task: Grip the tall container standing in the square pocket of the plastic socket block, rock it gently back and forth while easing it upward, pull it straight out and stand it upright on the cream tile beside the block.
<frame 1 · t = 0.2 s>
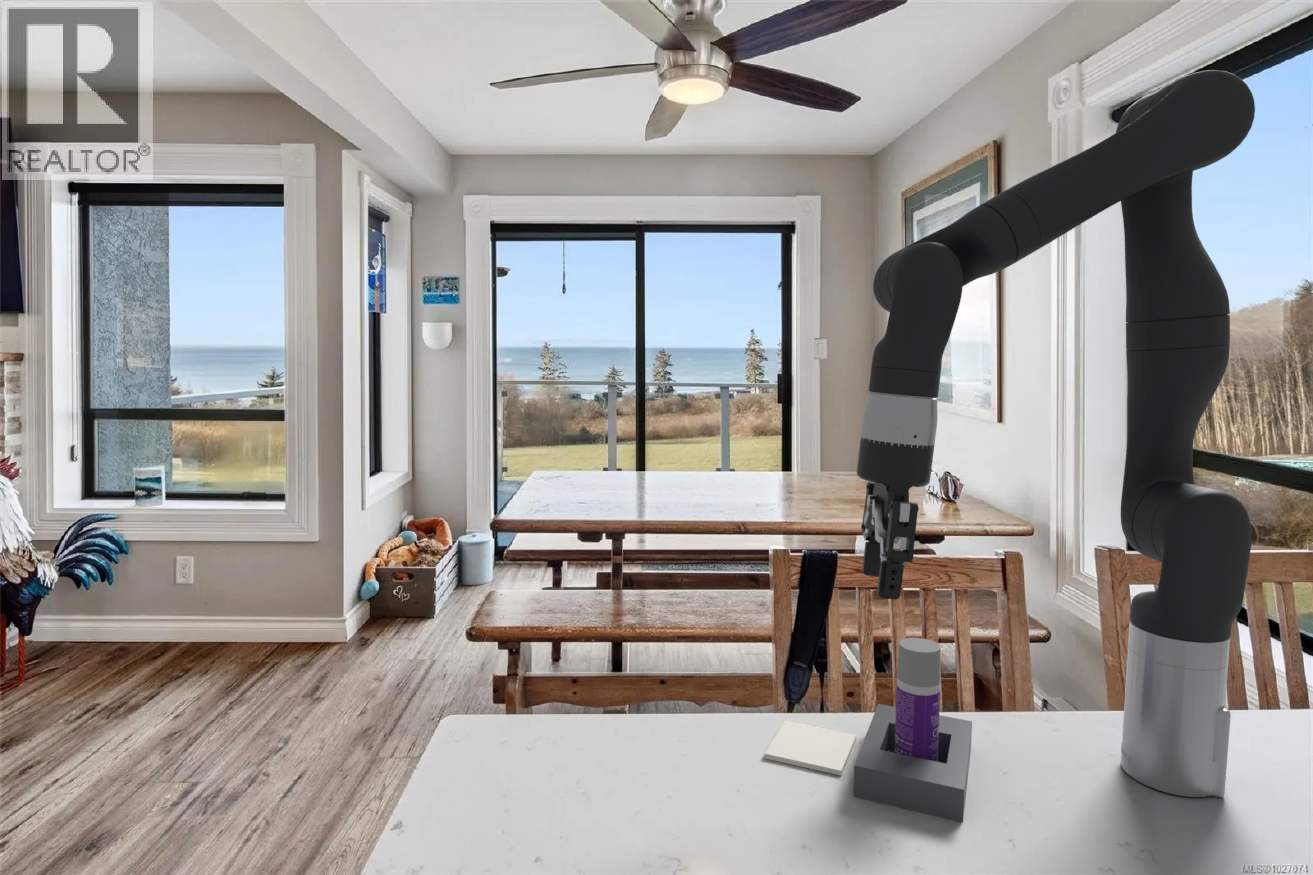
hand: (879, 585, 82), 23 cm above the kitchen island, tool pointing down, fingers open, 8 cm apart
tile: (811, 748, 92), on the kitchen island
socket block: (915, 771, 87), on the kitchen island
container: (915, 773, 87), resting in socket block
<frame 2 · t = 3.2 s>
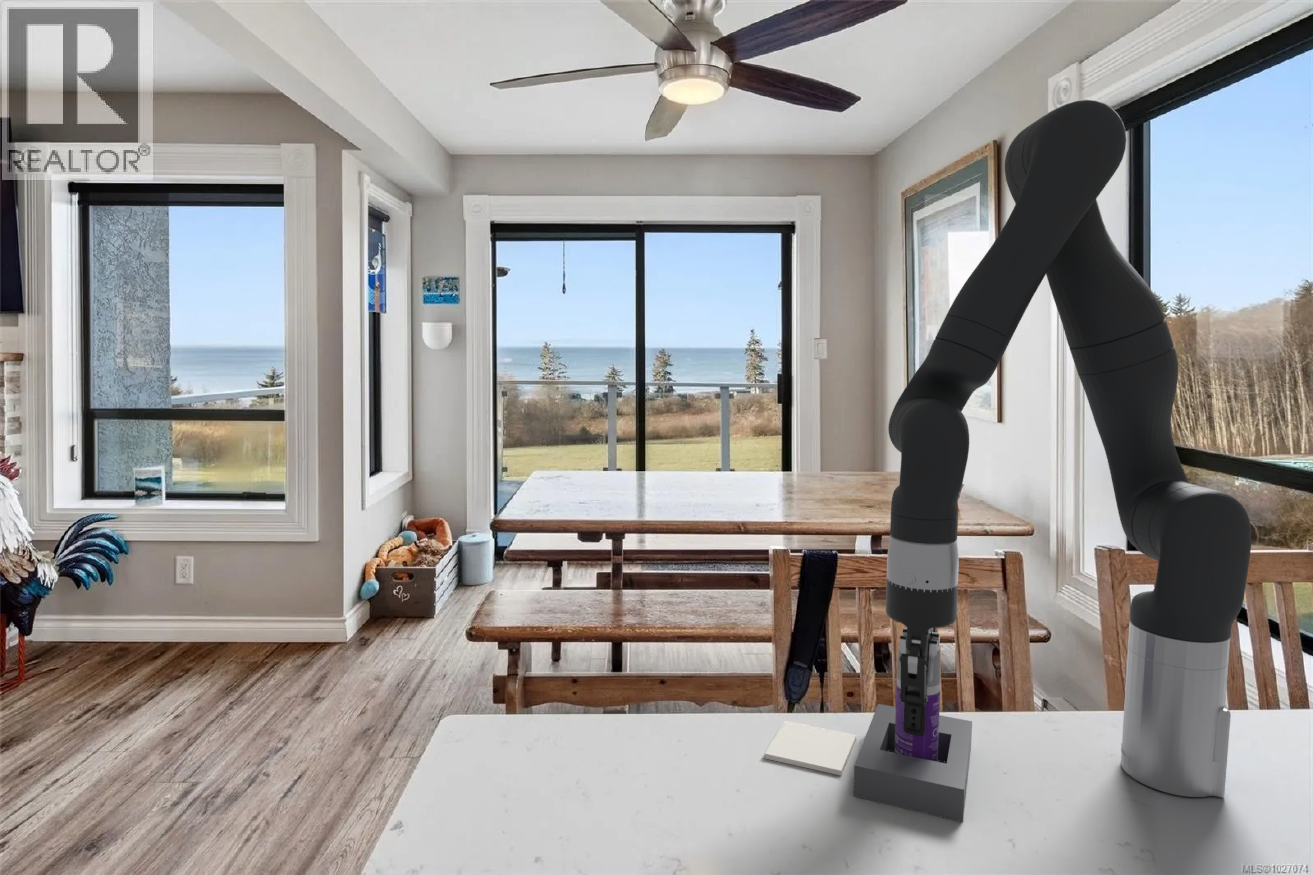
hand: (917, 722, 86), 6 cm above the kitchen island, tool pointing down, fingers closed on container, 4 cm apart
container: (915, 772, 87), resting in socket block, touching gripper
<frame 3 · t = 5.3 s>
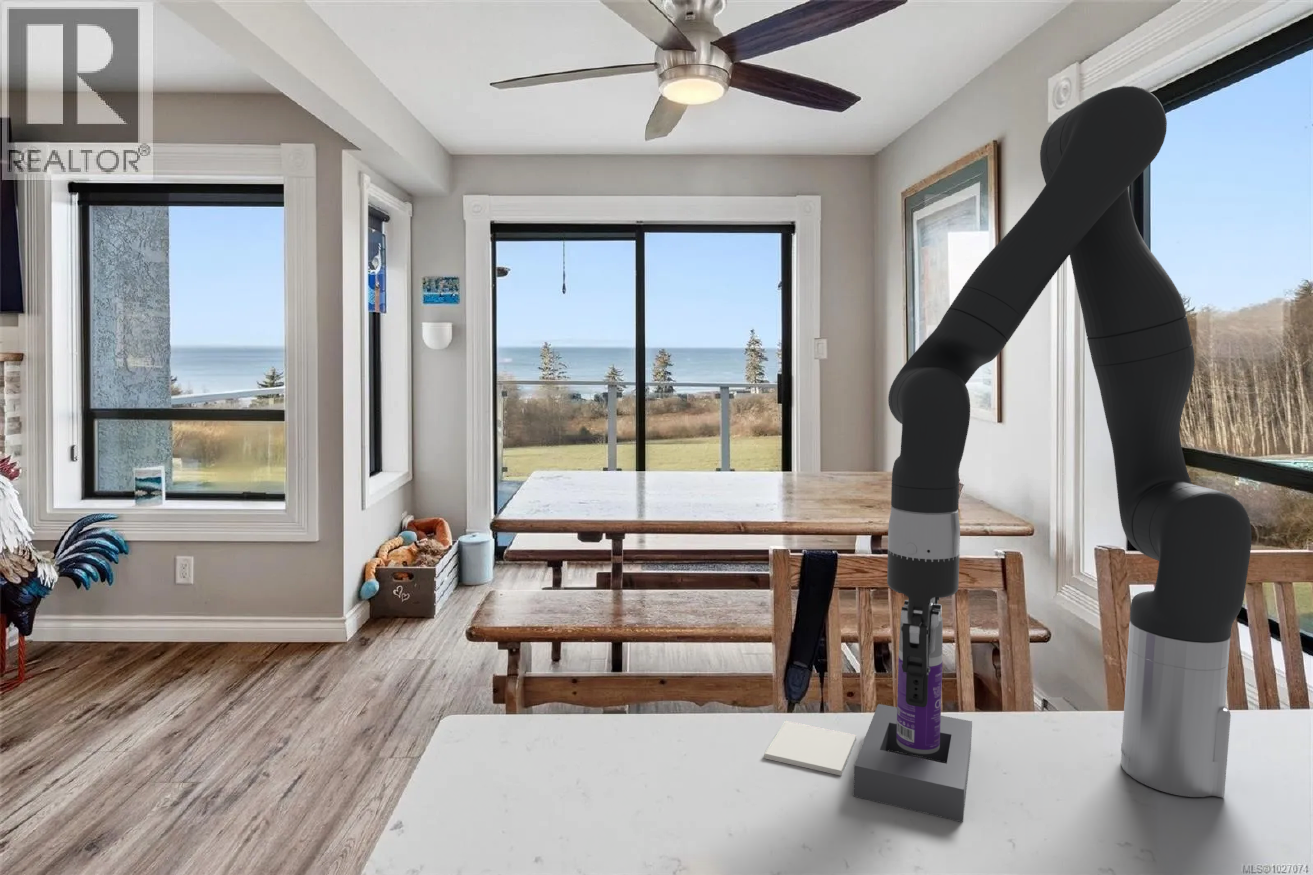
hand: (919, 694, 86), 9 cm above the kitchen island, tool pointing down, fingers closed on container, 4 cm apart
container: (917, 745, 87), point 3 cm above the kitchen island, touching gripper
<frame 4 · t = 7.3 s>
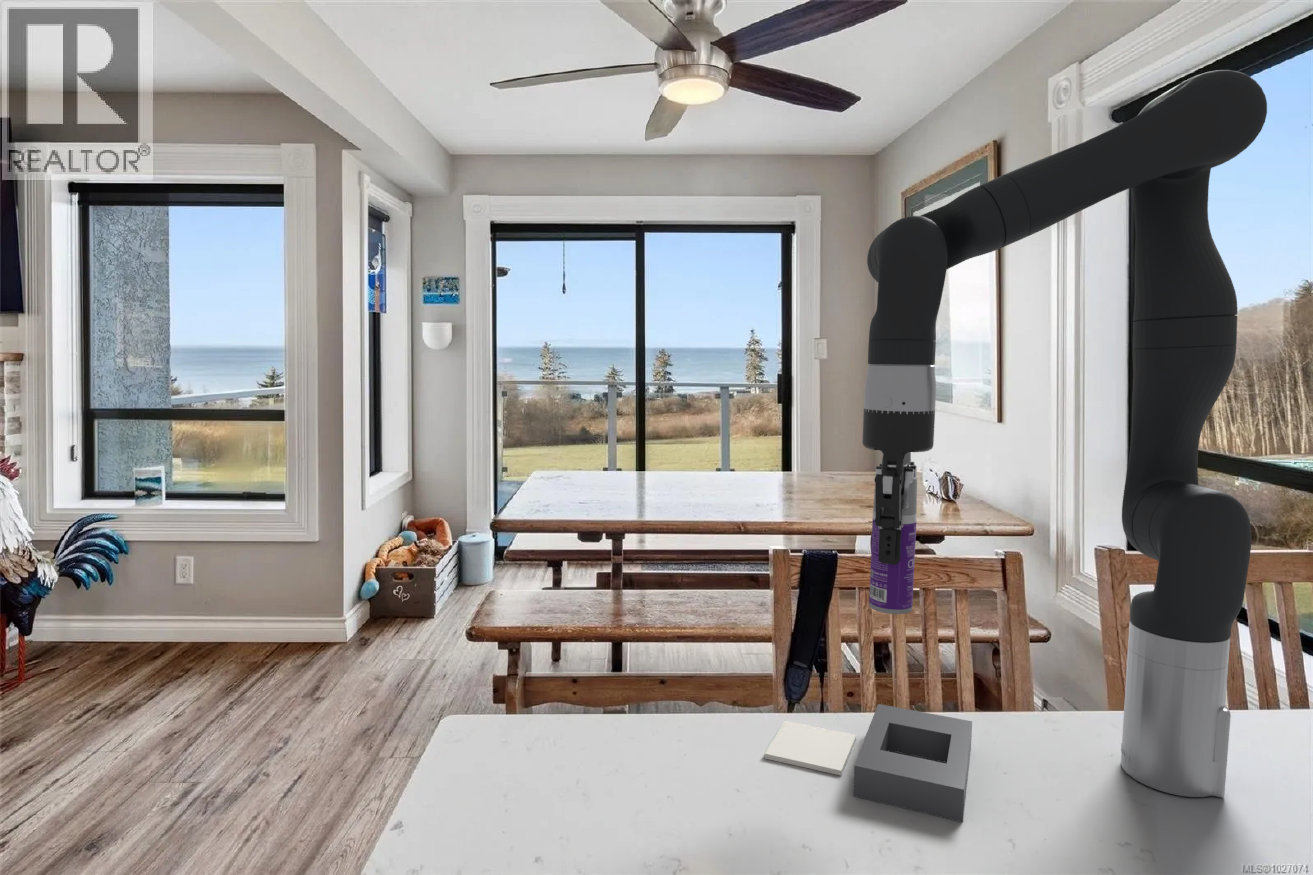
hand: (892, 556, 85), 25 cm above the kitchen island, tool pointing down, fingers closed on container, 4 cm apart
container: (890, 609, 86), point 19 cm above the kitchen island, touching gripper
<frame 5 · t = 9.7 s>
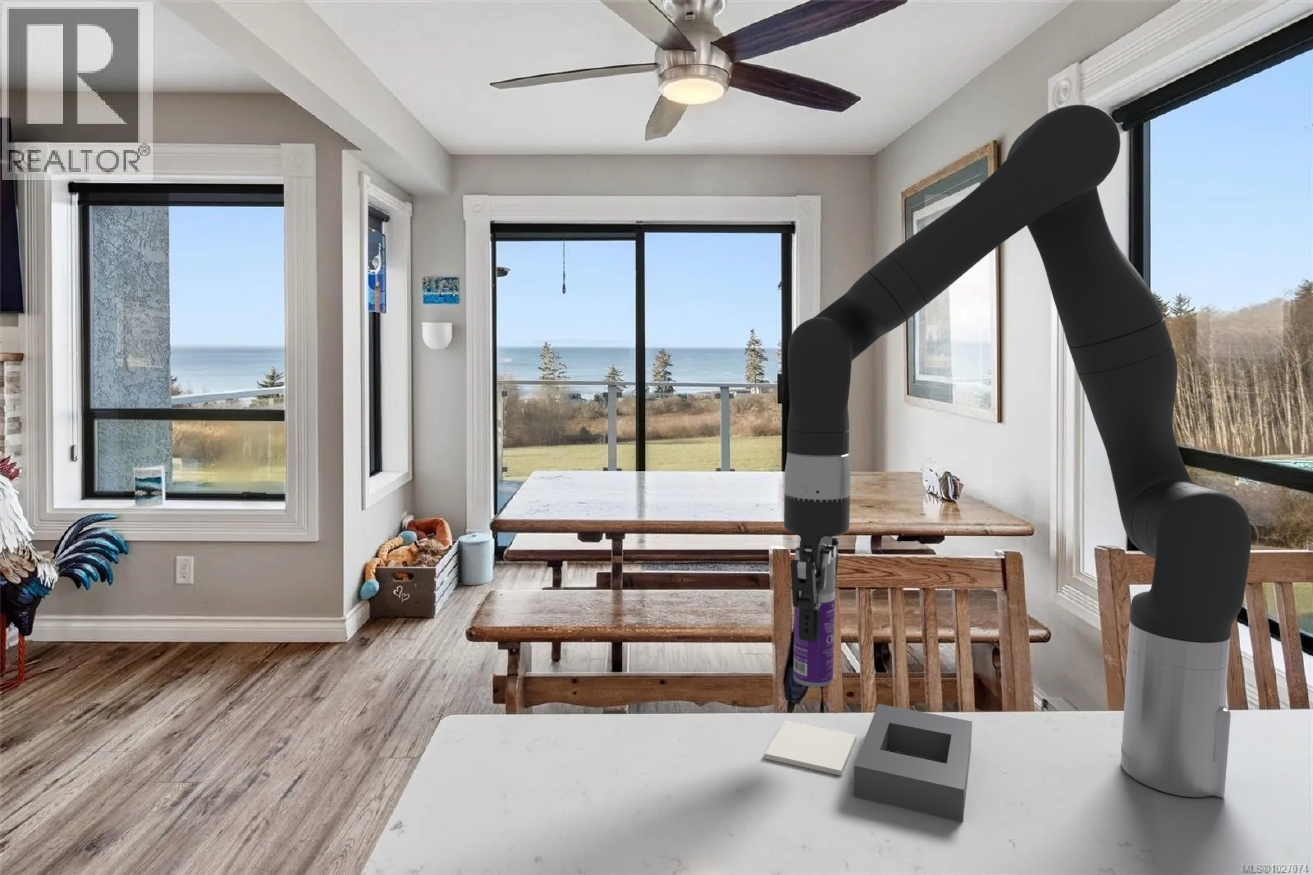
hand: (814, 631, 90), 15 cm above the kitchen island, tool pointing down, fingers closed on container, 4 cm apart
container: (813, 680, 91), point 9 cm above the kitchen island, touching gripper
when the fingers open (7 cm above the kitchen island, at t = 11.5 s): container stays where it is, resting on tile.
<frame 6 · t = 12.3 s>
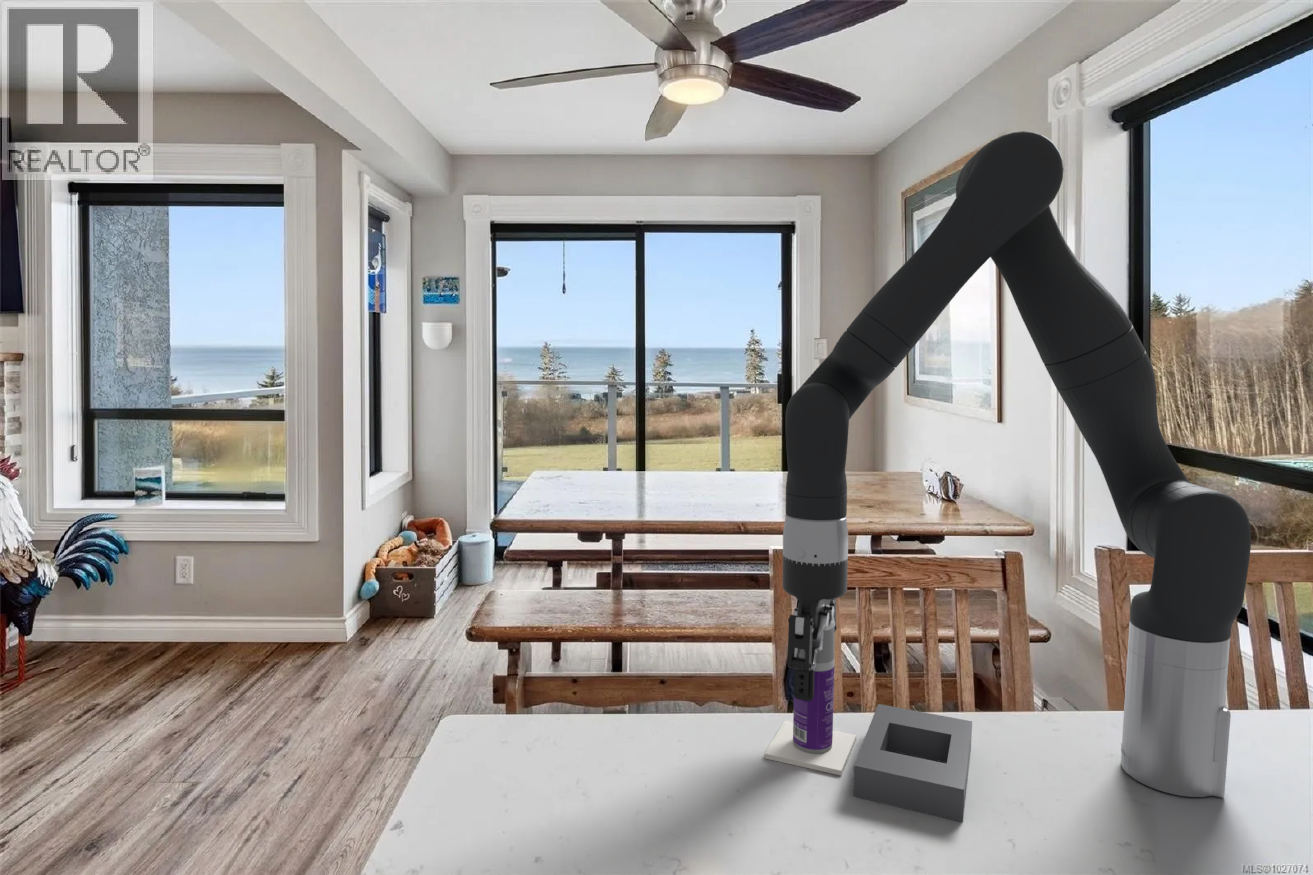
hand: (812, 684, 91), 8 cm above the kitchen island, tool pointing down, fingers open, 8 cm apart
container: (812, 745, 92), resting on tile
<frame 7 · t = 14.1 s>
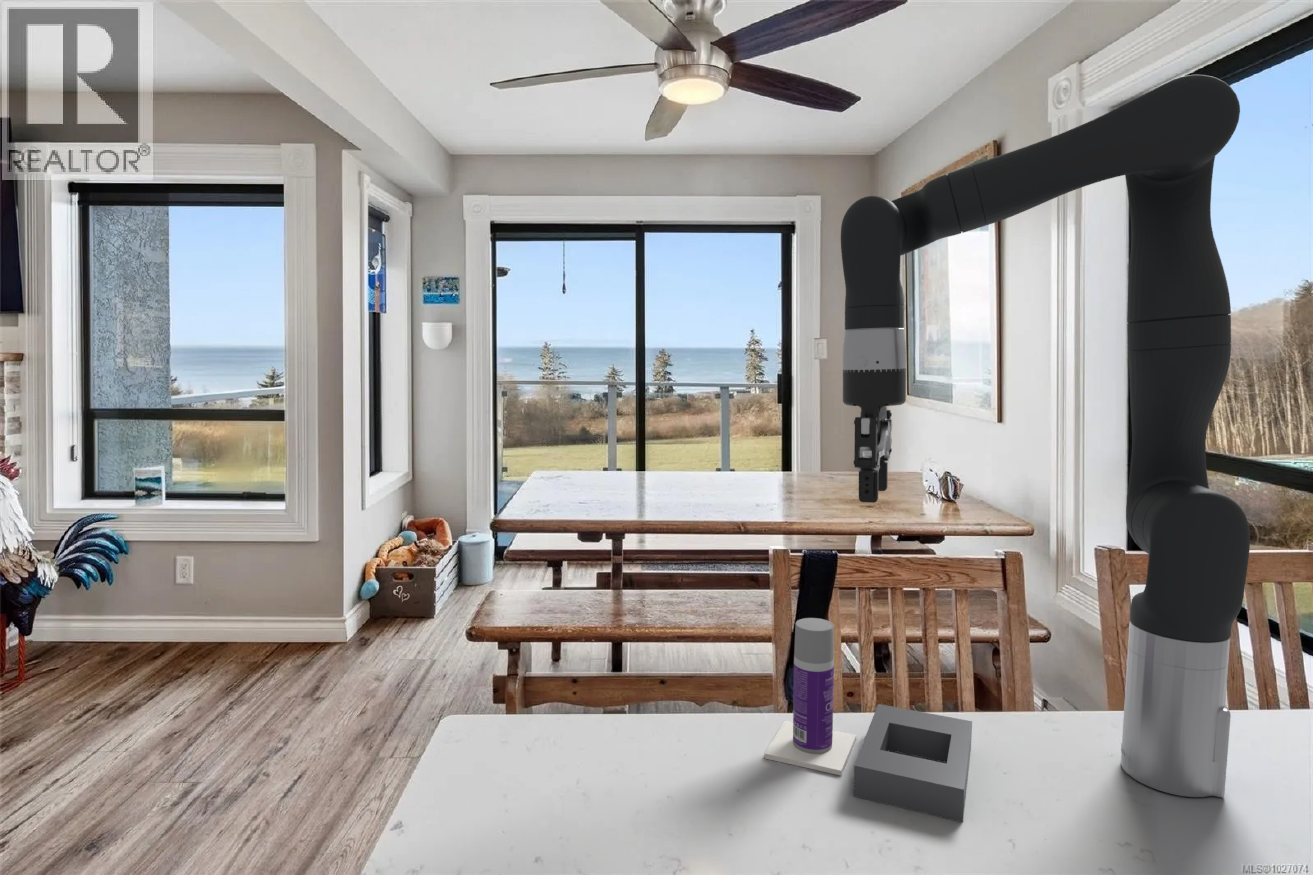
hand: (873, 495, 95), 30 cm above the kitchen island, tool pointing down, fingers open, 8 cm apart
nothing on the kitchen island moved.
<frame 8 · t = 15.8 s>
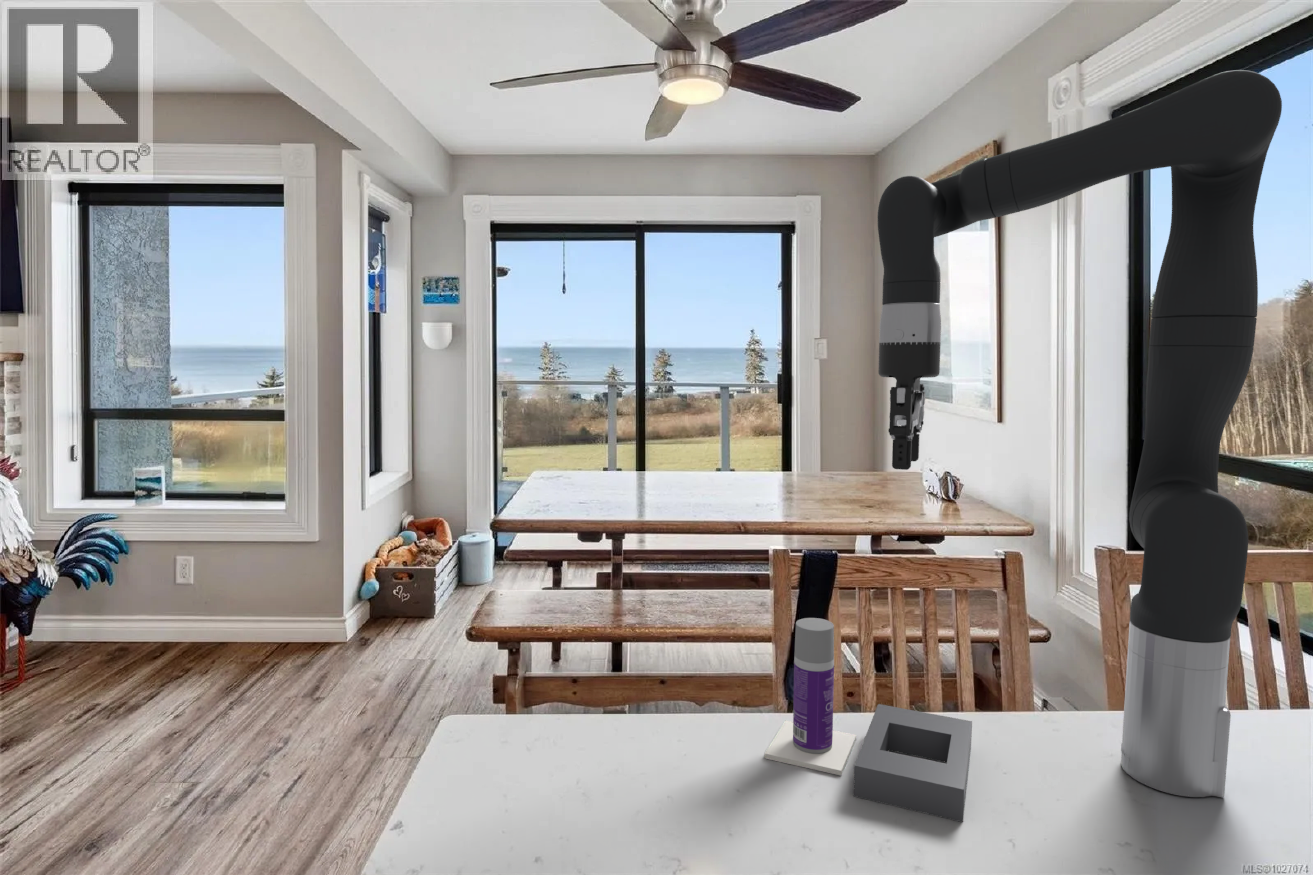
hand: (905, 464, 99), 33 cm above the kitchen island, tool pointing down, fingers open, 8 cm apart
nothing on the kitchen island moved.
at the end: container 0.1 cm off-centre on the tile, point 0.4 cm above the tile's base; container tilted 0°; the gripper is holding nothing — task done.
